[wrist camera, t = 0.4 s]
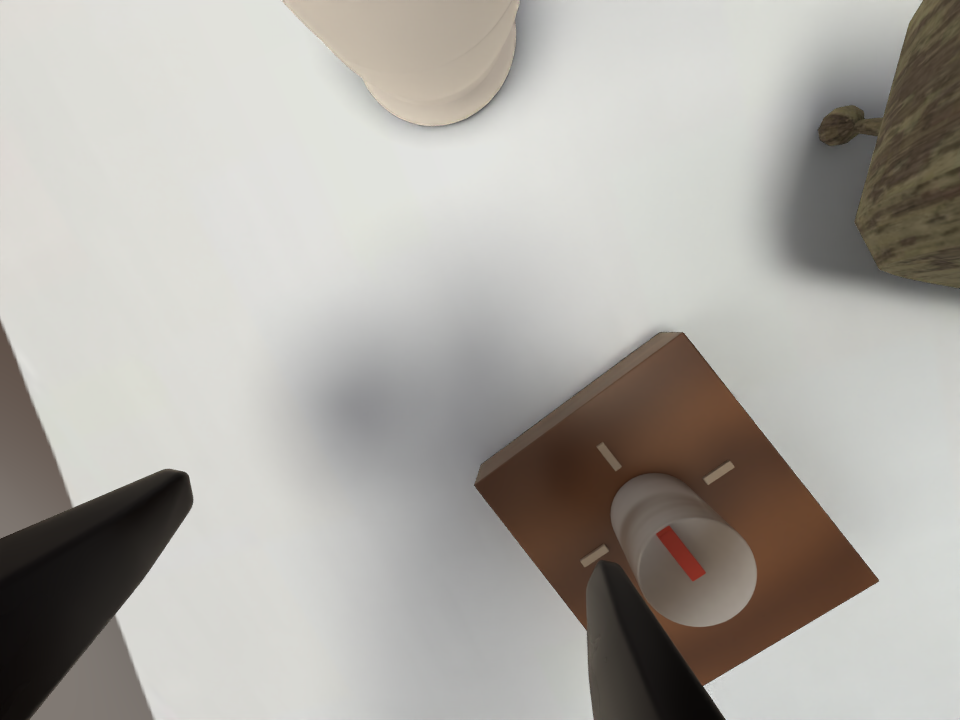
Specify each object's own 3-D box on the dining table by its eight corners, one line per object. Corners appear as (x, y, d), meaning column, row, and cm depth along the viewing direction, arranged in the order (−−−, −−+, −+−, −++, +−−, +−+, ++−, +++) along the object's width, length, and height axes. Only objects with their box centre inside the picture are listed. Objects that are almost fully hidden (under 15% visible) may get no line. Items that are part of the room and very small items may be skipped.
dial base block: (829, 545, 20) (884, 583, 17) (635, 664, 22) (654, 720, 19) (660, 331, 21) (684, 331, 18) (480, 464, 22) (473, 486, 19)
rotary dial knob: (718, 524, 18) (789, 594, 13) (645, 572, 19) (687, 655, 14) (664, 455, 18) (714, 499, 13) (592, 504, 19) (616, 564, 14)
